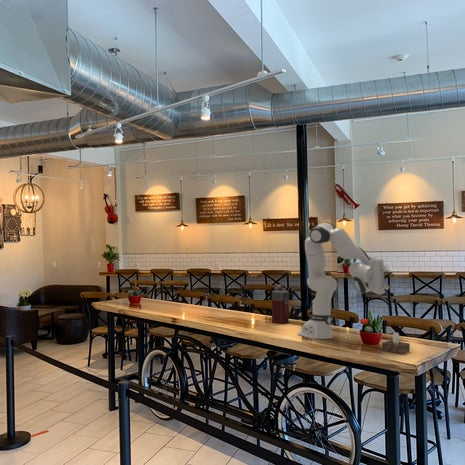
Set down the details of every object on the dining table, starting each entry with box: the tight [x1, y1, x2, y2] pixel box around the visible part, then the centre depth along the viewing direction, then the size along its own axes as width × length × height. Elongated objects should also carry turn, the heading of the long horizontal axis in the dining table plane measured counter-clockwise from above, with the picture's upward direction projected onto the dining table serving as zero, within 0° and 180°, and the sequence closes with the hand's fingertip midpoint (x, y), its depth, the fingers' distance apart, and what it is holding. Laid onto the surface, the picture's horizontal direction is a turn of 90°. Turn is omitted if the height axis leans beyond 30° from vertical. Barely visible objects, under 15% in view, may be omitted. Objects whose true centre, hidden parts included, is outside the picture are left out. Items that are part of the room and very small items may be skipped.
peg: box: [392, 332, 400, 344], centre depth 245 cm, size 3×3×10 cm
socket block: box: [381, 339, 411, 356], centre depth 245 cm, size 11×10×4 cm
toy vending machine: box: [271, 284, 290, 325], centre depth 329 cm, size 9×11×28 cm
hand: (388, 279), depth 244 cm, fingers open, 8 cm apart
